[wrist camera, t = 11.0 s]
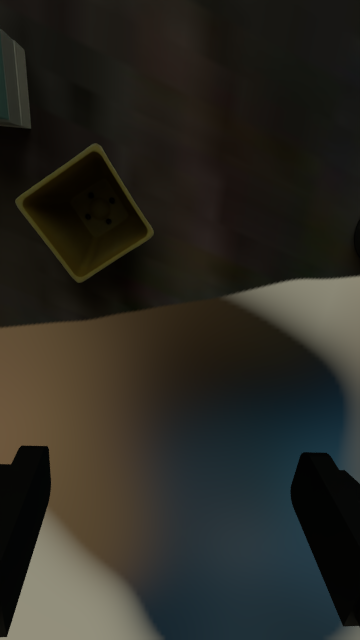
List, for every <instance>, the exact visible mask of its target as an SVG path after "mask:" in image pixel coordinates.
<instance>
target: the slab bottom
mask: <svg viewBox="0 0 360 640" xmlns="http://www.w3.org/2000/svg"><path fill="white" fill-rule="evenodd" d="M13 42H14V52H15V63H16V73H17V84H18V95H19V105H20V116H21V126H13V125H2V124H0V126H6V127H17V128H27V129H31V120H30V108H29V97H28V85H27V73H26V61H25V50H24V49H23V48H22V47H21V46H20V45H19V44H17V43H16V42H15V41H14V40H13Z"/></svg>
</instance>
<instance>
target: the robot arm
mask: <svg viewBox="0 0 360 640" xmlns="http://www.w3.org/2000/svg"><path fill="white" fill-rule="evenodd" d="M355 247H356V251H357V253H358V255H359V257H360V221H359V223H358V226H357V228H356V233H355ZM50 490H51V477H50V461H49V449H48V447H47V446H21V447H20V448H19V450H18V451H17V454H16V456H15V458H14V460H13V462H12V464H11V465H9V464H8V465H7V464H0V637H7V634H8V631H9V628H10V625H11V622H12V618H13V615H14V612H15V608H16V605H17V602H18V599H19V596H20V592H21V589H22V586H23V583H24V580H25V577H26V573H27V570H28V567H29V563H30V560H31V557H32V554H33V551H34V548H35V544H36V541H37V538H38V535H39V531H40V528H41V525H42V521H43V519H44V515H45V512H46V508H47V506H48V502H49V497H50ZM291 500H292V504H293V507H294V510H295V512H296V515H297V517H298V519H299V522H300V524H301V526H302V529H303V531H304V534H305V536H306V538H307V541H308V543H309V546H310V548H311V550H312V553H313V555H314V558H315V560H316V562H317V565H318V567H319V570H320V572H321V574H322V577H323V579H324V581H325V584H326V586H327V589H328V591H329V593H330V596H331V598H332V601H333V603H334V605H335V608H336V610H337V613H338V615H339V617H340V619H341V622H342V624H343V626H360V484H359V483H358V482H357V481H356V480H355V479H354V478H353V477H352V476H350V475H349V474H348V473H347V472H346V471H345V470H339V469H338V467H337V466H336V464H335V463H334V461H333V459H332V458H331V456H330V455H329V454H327V453H309V452H304V453H302V454H301V456H300V459H299V462H298V465H297V469H296V472H295V475H294V478H293V481H292V485H291Z"/></svg>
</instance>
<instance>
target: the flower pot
mask: <svg viewBox="0 0 360 640" xmlns="http://www.w3.org/2000/svg"><path fill="white" fill-rule="evenodd" d="M89 193H93V195H94V197H93V198H90V197H89ZM110 198H113V199H114V200H115V202H114V203H110V201H109V200H110ZM15 203H16V205H17V207H18V208H19V210H20V211H21V212H22V214H23V215H24V216H25V218H26V219H27V220H28V221H29V223H30V224H31V225H32V227H33V228H34V229H35V230H36V232H37V233H38V234H39V235H40V237H41V238H42V239H43V241H44V242H45V243H46V244H47V246H48V247H49V248H50V249H51V251H52V252H53V253H54V255H55V256H56V257H57V259H58V260H59V261H60V262H61V264H62V265H63V266H64V268H65V269H66V270H67V272H68V273H69V274H70V276H71V277H72V278H73V279H74V280H75V281H76V282H78V283H81V282H83V281H85V280H86V279H88V278H90V277H91V276H93V275H94V274H96V273H97V272H99V271H100V270H102V269H103V268H105V267H106V266H108V265H109V264H111V263H112V262H114V261H115V260H117V259H119V258H120V257H122V256H123V255H125V254H126V253H128V252H130V251H131V250H133V249H134V248H136V247H138V246H139V245H141V244H143V243H144V242H146V241H147V240H149V239H150V238H151V237H152V236H153V235H154V231H153V229H152V227H151V226H150V224H149V223H148V221H147V220H146V218H145V217H144V215H143V214H142V212H141V211H140V209H139V208H138V206H137V205H136V203H135V201H134V200H133V198H132V197H131V195H130V194H129V192H128V190H127V189H126V187H125V186H124V184H123V182H122V181H121V179H120V177H119V176H118V174H117V172H116V171H115V169H114V167H113V166H112V164H111V162H110V161H109V159H108V157H107V156H106V154H105V152H104V150H103V149H102V147H101V146H100V145H99V144H96V143H95V144H92V145H91V146H89V147H88V148H87V149H85V150H84V151H83V152H81V153H80V154H78V155H77V156H76V157H74V158H73V159H71V160H70V161H69V162H67V163H66V164H65V165H63V166H62V167H60V168H59V169H57V170H56V171H54V172H53V173H52V174H50V175H49V176H47V177H46V178H44V179H43V180H42V181H40V182H39V183H37V184H36V185H34V186H33V187H31V188H30V189H29V190H27V191H26V192H24V193H23V194H21V195H20V196H19V197H18V198H17V199H16V200H15ZM86 214H89V215H90V216H91V218H90V219H86V217H85V216H86ZM107 219H110V220H111V223H110V224H107V223H106V220H107Z"/></svg>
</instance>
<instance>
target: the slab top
mask: <svg viewBox="0 0 360 640" xmlns="http://www.w3.org/2000/svg"><path fill="white" fill-rule="evenodd" d="M0 119H6V120H9V114H8V104H7V94H6V84H5V74H4V64H3V54H2V44H1V34H0Z"/></svg>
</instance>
